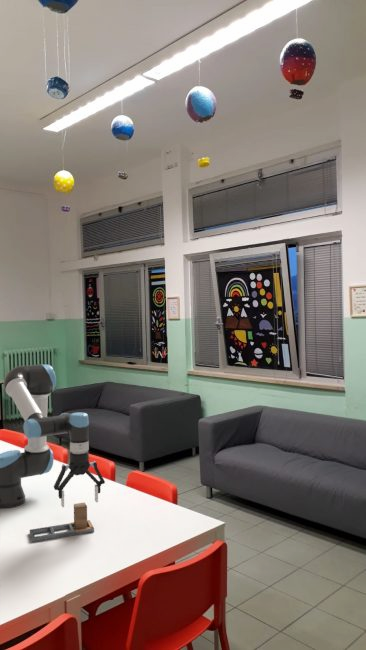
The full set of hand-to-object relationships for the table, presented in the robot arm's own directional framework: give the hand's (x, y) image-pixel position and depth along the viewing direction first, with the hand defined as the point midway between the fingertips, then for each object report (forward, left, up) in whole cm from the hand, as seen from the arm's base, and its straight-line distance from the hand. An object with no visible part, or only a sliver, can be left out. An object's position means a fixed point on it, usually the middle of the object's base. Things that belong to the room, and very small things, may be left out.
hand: (79, 503), depth 205 cm
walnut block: (0, 0, -10) cm, 10 cm away
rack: (0, -7, -10) cm, 13 cm away
